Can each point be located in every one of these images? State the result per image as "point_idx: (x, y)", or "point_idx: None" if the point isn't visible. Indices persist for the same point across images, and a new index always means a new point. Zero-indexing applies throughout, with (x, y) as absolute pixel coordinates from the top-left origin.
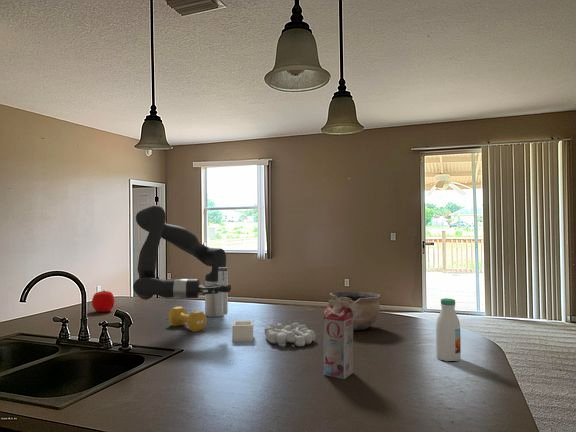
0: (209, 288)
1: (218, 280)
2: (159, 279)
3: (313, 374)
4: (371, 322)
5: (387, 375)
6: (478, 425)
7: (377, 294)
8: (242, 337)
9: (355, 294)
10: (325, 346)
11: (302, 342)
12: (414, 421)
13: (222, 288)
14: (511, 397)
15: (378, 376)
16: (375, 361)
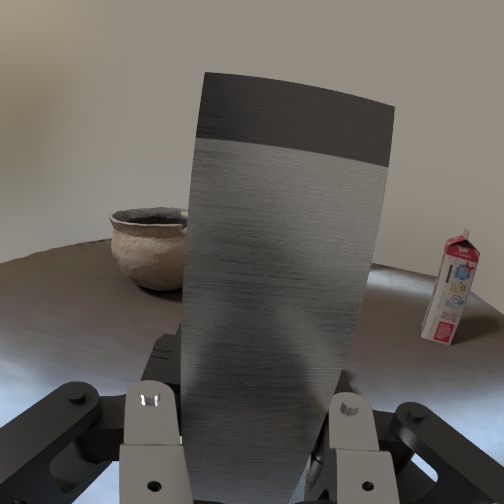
0: (490, 468)
1: (350, 338)
2: None
3: (455, 353)
4: None
5: (412, 305)
6: (471, 293)
7: (171, 208)
8: None
9: (124, 216)
10: (464, 304)
11: None
12: (492, 310)
13: (347, 390)
14: (414, 273)
15: (419, 311)
16: (366, 304)
